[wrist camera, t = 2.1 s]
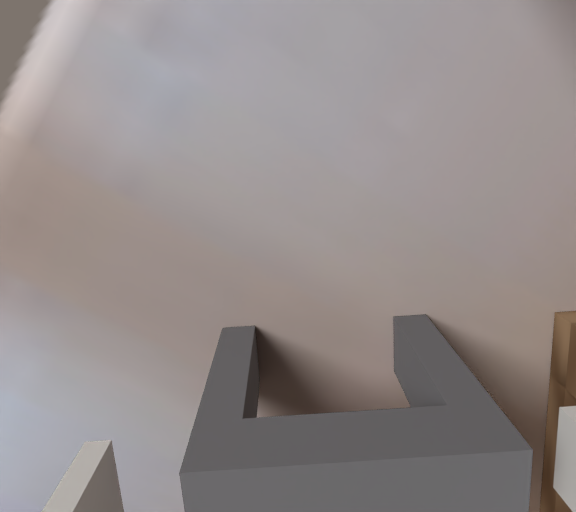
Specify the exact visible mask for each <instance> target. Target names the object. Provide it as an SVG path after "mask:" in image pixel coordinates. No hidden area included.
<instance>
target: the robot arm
mask: <svg viewBox="0 0 576 512" xmlns="http://www.w3.org/2000/svg"><path fill="white" fill-rule="evenodd" d="M553 488H554V489H555V490H556V492H557V493H558V494H559V495H560V497H561V498H562V499H563V500H564V502H565V503H566V504H567V505H568V507H569V508H570V509H571V510H572V512H576V406H567V407H559V418H558V431H557V444H556V457H555V470H554V482H553ZM42 512H124V509H123V504H122V498H121V492H120V487H119V481H118V475H117V469H116V464H115V458H114V452H113V447H112V441H111V440H104V441H91V442H85V443H84V444H83V446H82V447H81V449H80V451H79V452H78V454H77V456H76V457H75V459H74V460H73V462H72V464H71V465H70V467H69V468H68V470H67V472H66V473H65V475H64V476H63V478H62V480H61V481H60V483H59V485H58V486H57V488H56V489H55V491H54V493H53V494H52V496H51V497H50V499H49V501H48V502H47V504H46V505H45V507H44V509H43V510H42Z"/></svg>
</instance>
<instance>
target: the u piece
mask: <svg viewBox="0 0 576 512" xmlns="http://www.w3.org/2000/svg"><path fill="white" fill-rule="evenodd" d="M393 322H394V372H395V374H396V376H397V378H398V381H399V383H400V385H401V387H402V389H403V391H404V393H405V395H406V397H407V400H408V402H409V404H410V406H411V408H396V409H381V410H366V411H350V412H335V413H320V414H305V415H290V416H274V417H259V418H256V417H257V406H258V394H259V383H260V378H259V366H258V355H257V344H256V332H255V326H244V327H229V328H222V332H221V335H220V338H219V342H218V345H217V348H216V352H215V355H214V359H213V362H212V365H211V369H210V372H209V375H208V379H207V382H206V385H205V389H204V392H203V395H202V399H201V402H200V406H199V409H198V412H197V416H196V419H195V422H194V426H193V429H192V432H191V436H190V439H189V442H188V446H187V449H186V452H185V456H184V459H183V463H182V466H181V469H180V473H179V474H180V481H181V488H182V495H183V502H184V509H185V512H529V500H530V485H531V471H532V457H533V449H532V448H531V447H530V445H529V444H528V443H527V442H526V440H525V439H524V438H523V437H522V435H521V434H520V433H519V432H518V430H517V429H516V428H515V427H514V425H513V424H512V423H511V421H510V420H509V419H508V418H507V416H506V415H505V414H504V413H503V411H502V410H501V409H500V408H499V406H498V405H497V404H496V403H495V401H494V400H493V399H492V397H491V396H490V395H489V394H488V392H487V391H486V390H485V389H484V387H483V386H482V385H481V384H480V382H479V381H478V380H477V379H476V377H475V376H474V375H473V373H472V372H471V371H470V370H469V368H468V367H467V366H466V365H465V363H464V362H463V361H462V360H461V358H460V357H459V356H458V355H457V353H456V352H455V351H454V349H453V348H452V347H451V346H450V344H449V343H448V342H447V341H446V339H445V338H444V337H443V336H442V334H441V333H440V332H439V330H438V329H437V328H436V327H435V325H434V324H433V323H432V322H431V320H430V319H429V318H428V317H427V315H426V314H425V315H410V316H395V317H393Z"/></svg>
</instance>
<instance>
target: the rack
mask: <svg viewBox="0 0 576 512" xmlns="http://www.w3.org/2000/svg"><path fill="white" fill-rule="evenodd" d="M567 406H576V311H569V312H555V318H554V331H553V345H552V358H551V371H550V384H549V397H548V410H547V423H546V436H545V449H544V462H543V475H542V488H541V501H540V512H572V510H571V509H570V508H569V507H568V505H567V504H566V503H565V502H564V500H563V499H562V498H561V497H560V495H559V494H558V493H557V492H556V490H555V489H554V488H553V482H554V470H555V457H556V444H557V431H558V418H559V407H567Z"/></svg>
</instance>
